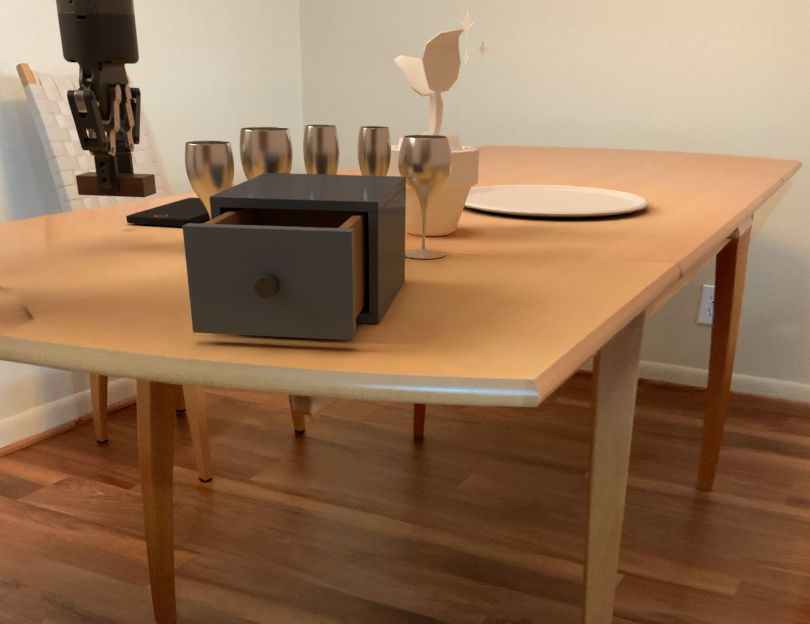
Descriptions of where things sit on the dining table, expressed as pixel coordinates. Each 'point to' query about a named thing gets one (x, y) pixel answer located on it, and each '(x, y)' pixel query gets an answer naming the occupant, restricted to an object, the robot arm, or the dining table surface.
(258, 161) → the goblet set
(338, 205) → the cabinet
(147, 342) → the dining table surface
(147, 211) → the cell phone
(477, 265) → the dining table surface
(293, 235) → the drawer
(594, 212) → the plate
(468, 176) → the potted plant
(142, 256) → the dining table surface
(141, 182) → the brown rectangular block
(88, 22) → the robot arm
